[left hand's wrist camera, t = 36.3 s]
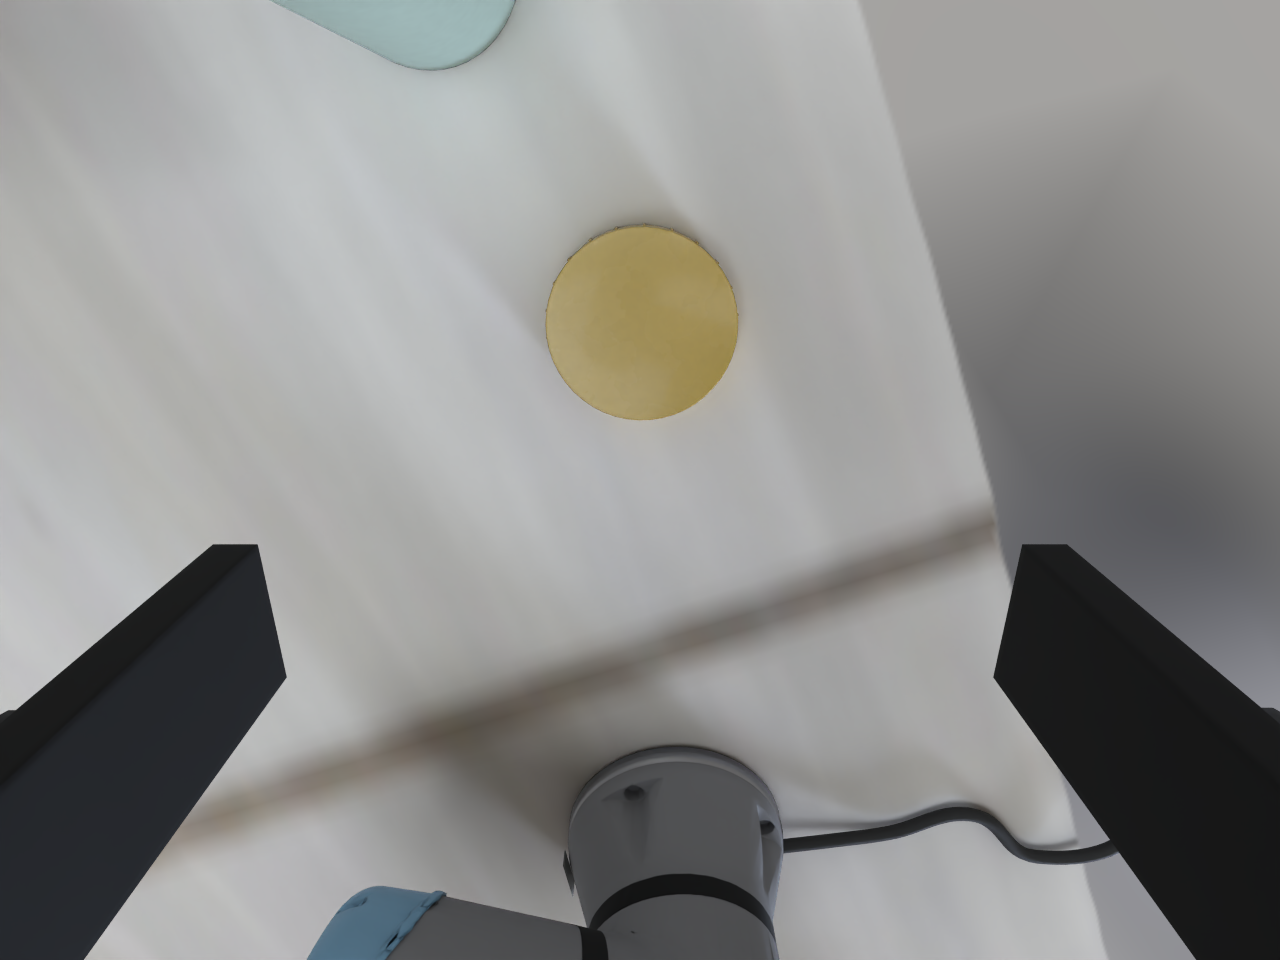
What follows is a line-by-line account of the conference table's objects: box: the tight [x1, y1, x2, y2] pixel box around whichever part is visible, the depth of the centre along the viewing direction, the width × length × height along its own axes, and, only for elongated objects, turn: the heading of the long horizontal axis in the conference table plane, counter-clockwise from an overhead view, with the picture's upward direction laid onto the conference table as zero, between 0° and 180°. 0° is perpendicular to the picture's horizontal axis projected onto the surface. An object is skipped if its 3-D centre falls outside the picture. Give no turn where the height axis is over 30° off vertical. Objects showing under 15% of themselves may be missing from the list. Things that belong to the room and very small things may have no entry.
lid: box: [546, 223, 738, 420], centre depth 39 cm, size 10×10×2 cm
